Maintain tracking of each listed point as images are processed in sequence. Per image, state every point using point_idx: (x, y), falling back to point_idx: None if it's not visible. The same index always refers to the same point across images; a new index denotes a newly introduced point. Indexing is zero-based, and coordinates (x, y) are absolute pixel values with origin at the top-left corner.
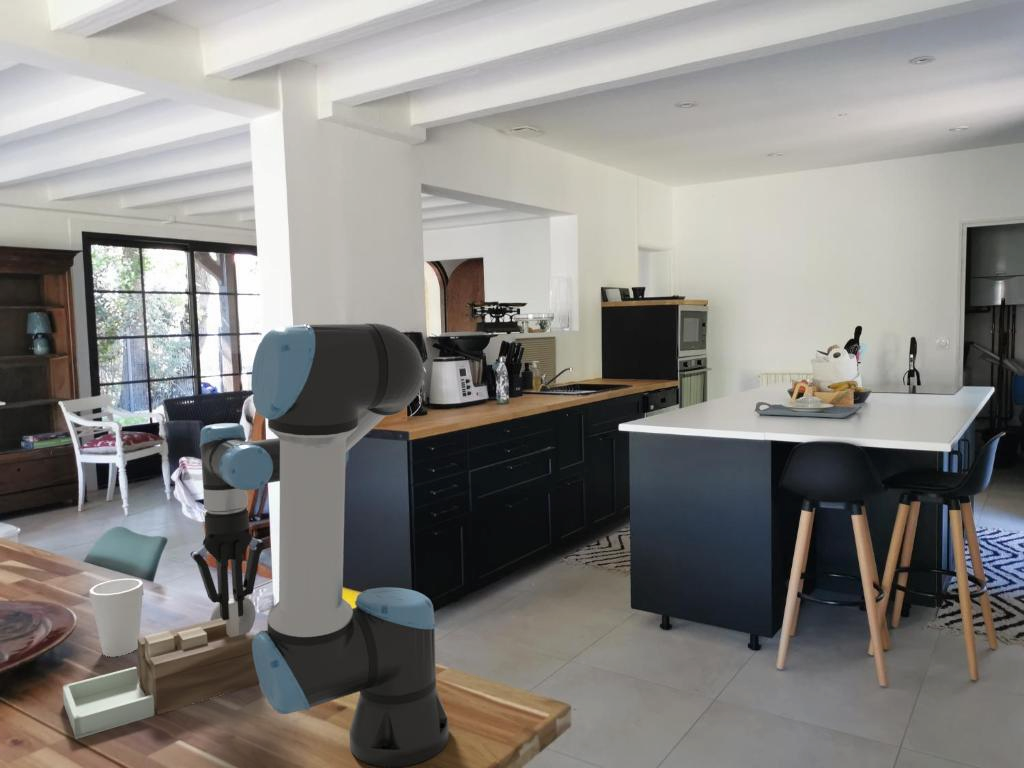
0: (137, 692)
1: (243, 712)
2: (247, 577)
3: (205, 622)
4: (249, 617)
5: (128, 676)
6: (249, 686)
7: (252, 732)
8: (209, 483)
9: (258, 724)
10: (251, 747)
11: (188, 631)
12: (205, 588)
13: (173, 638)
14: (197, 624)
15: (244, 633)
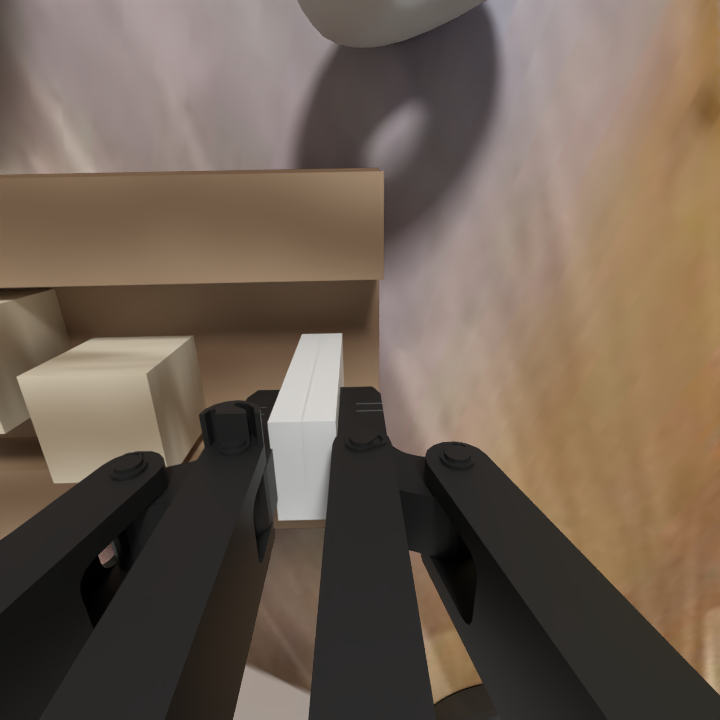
0: None
1: (294, 533)
2: (487, 646)
3: (207, 184)
4: None
5: None
6: None
7: (290, 608)
8: None
9: (309, 589)
10: (275, 646)
11: (78, 398)
12: (9, 539)
13: (4, 431)
14: (158, 186)
15: (466, 10)
